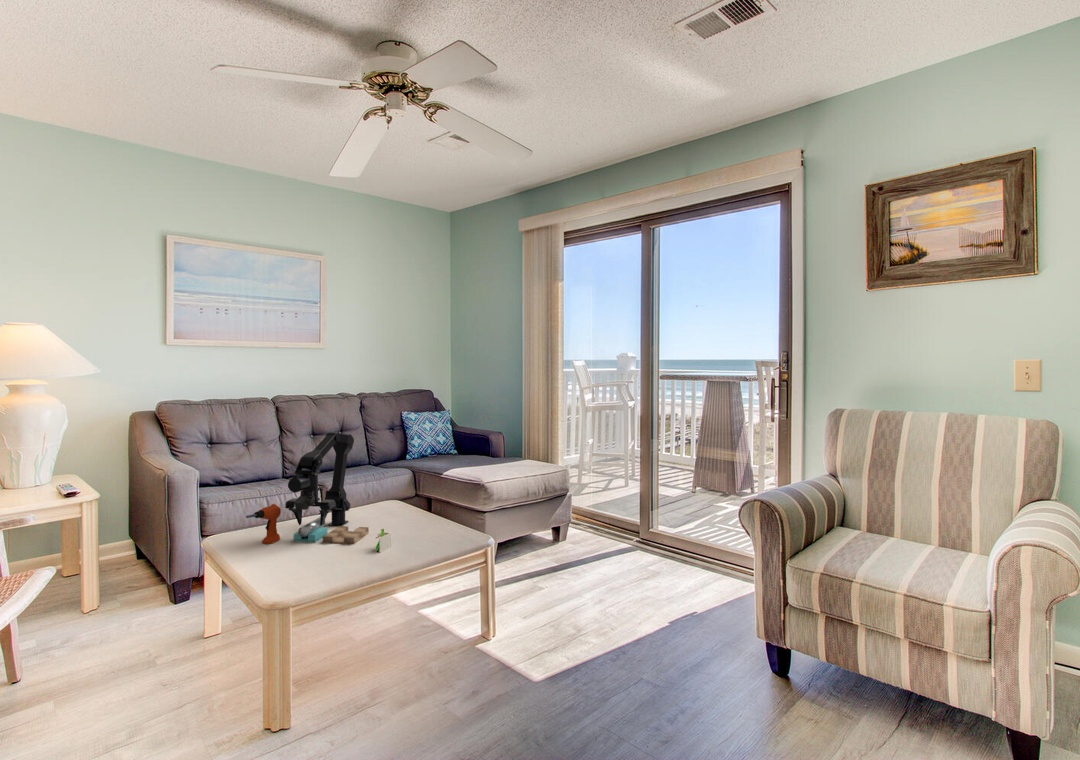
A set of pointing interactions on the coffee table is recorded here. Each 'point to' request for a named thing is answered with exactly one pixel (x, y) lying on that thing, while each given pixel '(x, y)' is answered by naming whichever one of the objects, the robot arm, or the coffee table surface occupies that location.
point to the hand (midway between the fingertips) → (310, 525)
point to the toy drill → (269, 522)
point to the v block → (311, 535)
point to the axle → (310, 527)
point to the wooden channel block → (345, 535)
